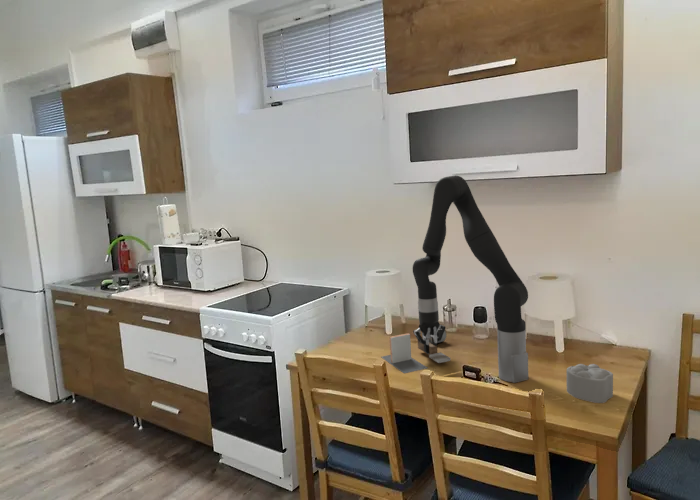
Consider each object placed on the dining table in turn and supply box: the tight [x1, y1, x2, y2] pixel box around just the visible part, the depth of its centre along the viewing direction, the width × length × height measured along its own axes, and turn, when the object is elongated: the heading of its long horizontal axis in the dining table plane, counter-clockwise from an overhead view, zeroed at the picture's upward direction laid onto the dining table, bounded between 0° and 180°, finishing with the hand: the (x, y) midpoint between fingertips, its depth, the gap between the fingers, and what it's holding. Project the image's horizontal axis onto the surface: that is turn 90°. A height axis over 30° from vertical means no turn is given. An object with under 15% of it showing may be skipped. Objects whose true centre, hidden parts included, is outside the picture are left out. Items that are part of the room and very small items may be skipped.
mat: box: [380, 354, 429, 374], centre depth 202 cm, size 20×10×1 cm, turn 22°
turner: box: [417, 340, 451, 364], centre depth 203 cm, size 18×5×4 cm, turn 21°
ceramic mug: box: [421, 329, 447, 344], centre depth 224 cm, size 11×8×8 cm
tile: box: [389, 332, 412, 363], centre depth 203 cm, size 2×8×10 cm, turn 112°
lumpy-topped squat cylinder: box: [566, 363, 614, 404], centre depth 166 cm, size 10×13×9 cm
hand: (430, 352), depth 204 cm, fingers closed on turner, 2 cm apart
